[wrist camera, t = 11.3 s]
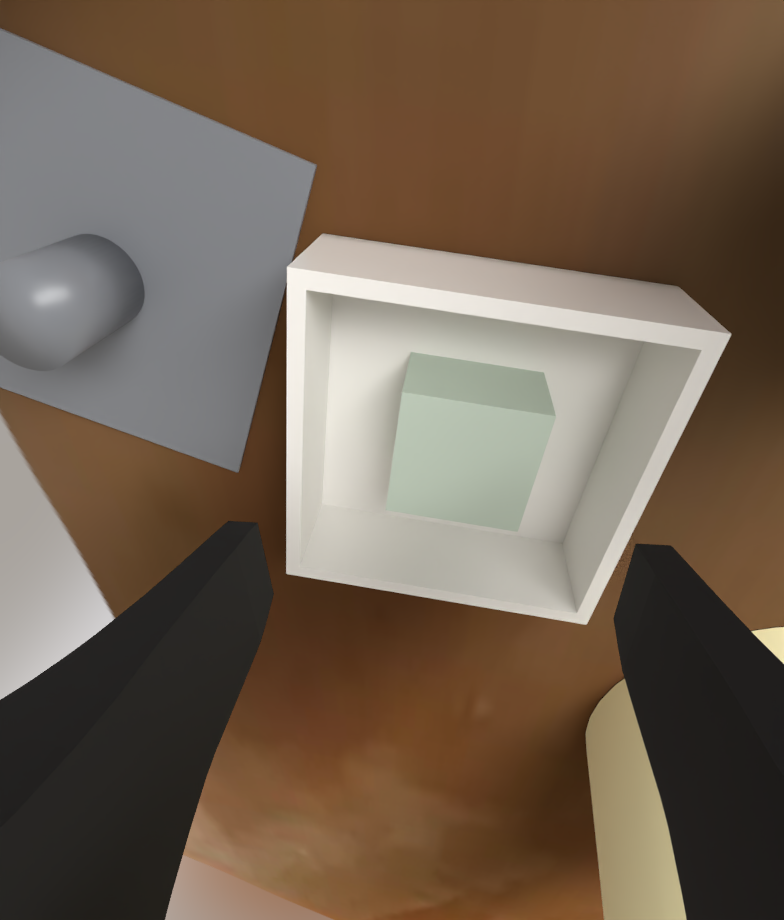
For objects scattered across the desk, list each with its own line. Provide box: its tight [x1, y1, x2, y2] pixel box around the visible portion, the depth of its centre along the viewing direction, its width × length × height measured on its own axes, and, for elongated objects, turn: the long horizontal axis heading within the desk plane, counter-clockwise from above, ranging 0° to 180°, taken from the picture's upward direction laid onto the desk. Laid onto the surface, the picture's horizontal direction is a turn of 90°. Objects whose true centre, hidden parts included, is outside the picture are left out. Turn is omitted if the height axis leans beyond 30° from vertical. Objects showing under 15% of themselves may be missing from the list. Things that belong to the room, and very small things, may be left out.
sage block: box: [386, 352, 556, 532], centre depth 18 cm, size 4×4×3 cm
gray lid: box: [0, 28, 317, 473], centre depth 17 cm, size 12×12×5 cm
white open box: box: [286, 234, 731, 625], centre depth 18 cm, size 11×11×4 cm
